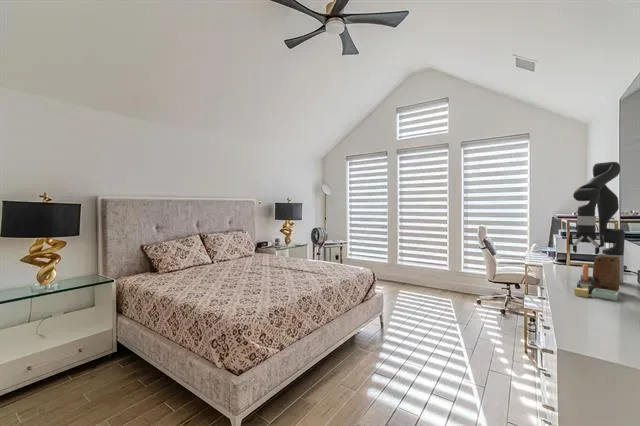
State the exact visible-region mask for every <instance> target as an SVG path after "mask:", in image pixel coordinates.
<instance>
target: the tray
mask: <svg viewBox="0 0 640 426" xmlns="http://www.w3.org/2000/svg"><path fill="white" fill-rule="evenodd" d="M591 297H592V298H595V299H602V300H608V301H612V302H618V300H619V298H620V291H618V292H617V291H611V290H605V289H598V288H595V289H594V290H593V291H592V293H591Z"/></svg>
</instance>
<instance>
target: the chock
mask: <svg viewBox="0 0 640 426" xmlns="http://www.w3.org/2000/svg"><path fill="white" fill-rule="evenodd" d="M573 293H574V296H579V297H584V298H587V297H589V294H590V293H589V289H588V288H577V286H576V287H574V292H573Z"/></svg>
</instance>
